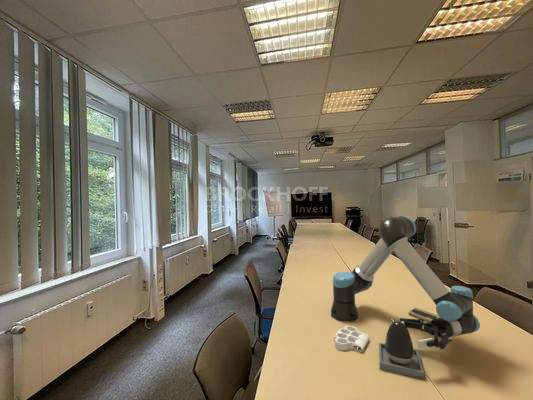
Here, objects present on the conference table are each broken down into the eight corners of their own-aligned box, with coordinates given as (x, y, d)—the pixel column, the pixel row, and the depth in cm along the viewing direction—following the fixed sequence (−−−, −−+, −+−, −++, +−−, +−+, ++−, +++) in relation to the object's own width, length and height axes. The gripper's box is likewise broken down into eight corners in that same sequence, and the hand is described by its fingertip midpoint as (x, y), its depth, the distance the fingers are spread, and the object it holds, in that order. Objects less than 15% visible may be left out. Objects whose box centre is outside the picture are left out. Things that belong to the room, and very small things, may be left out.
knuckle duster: (360, 358, 102) (327, 346, 111) (371, 338, 117) (341, 329, 125) (360, 349, 102) (327, 339, 111) (371, 331, 117) (340, 322, 125)
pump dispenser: (404, 351, 104) (403, 315, 104) (420, 368, 93) (419, 327, 94) (380, 352, 103) (379, 316, 104) (393, 369, 93) (392, 328, 93)
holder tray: (379, 369, 95) (379, 362, 95) (379, 348, 108) (379, 342, 108) (424, 379, 89) (424, 372, 89) (418, 356, 102) (417, 350, 102)
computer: (408, 315, 139) (408, 309, 139) (416, 312, 143) (416, 306, 143) (438, 327, 125) (438, 321, 125) (446, 323, 129) (446, 317, 129)
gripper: (477, 353, 92) (432, 364, 86) (419, 322, 116) (382, 329, 111) (476, 333, 92) (432, 342, 87) (419, 306, 116) (381, 312, 111)
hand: (404, 335), depth 99 cm, fingers open, 13 cm apart
